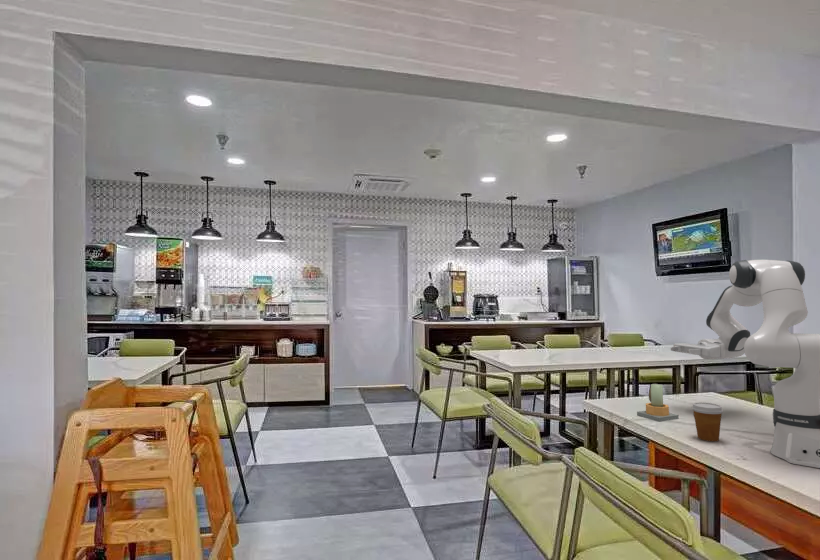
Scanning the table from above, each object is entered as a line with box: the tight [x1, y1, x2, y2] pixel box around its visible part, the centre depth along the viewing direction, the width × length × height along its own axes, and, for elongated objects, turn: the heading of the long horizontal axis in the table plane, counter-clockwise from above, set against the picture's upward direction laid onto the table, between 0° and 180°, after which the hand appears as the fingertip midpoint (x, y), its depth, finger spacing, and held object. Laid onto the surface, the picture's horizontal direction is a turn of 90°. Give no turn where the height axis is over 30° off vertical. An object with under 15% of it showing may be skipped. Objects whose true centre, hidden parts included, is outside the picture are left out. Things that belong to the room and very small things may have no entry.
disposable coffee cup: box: [691, 402, 724, 442], centre depth 160 cm, size 10×10×12 cm
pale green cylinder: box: [650, 383, 664, 407], centre depth 190 cm, size 4×4×12 cm
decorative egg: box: [648, 387, 651, 403], centre depth 211 cm, size 6×6×10 cm
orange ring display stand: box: [636, 402, 679, 422], centre depth 190 cm, size 11×11×5 cm
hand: (679, 350), depth 193 cm, fingers open, 8 cm apart
